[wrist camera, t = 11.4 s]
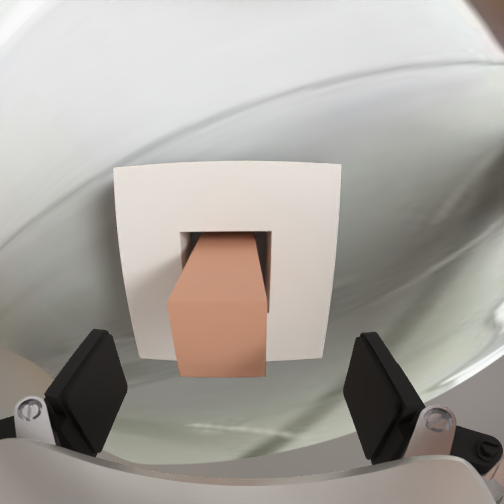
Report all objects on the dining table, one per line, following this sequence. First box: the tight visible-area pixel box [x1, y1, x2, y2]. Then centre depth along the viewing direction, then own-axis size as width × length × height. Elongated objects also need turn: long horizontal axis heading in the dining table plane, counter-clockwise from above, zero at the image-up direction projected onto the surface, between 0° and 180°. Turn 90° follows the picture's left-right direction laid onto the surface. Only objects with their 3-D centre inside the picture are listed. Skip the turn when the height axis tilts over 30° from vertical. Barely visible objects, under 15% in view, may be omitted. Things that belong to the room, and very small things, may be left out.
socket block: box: [113, 161, 341, 361], centre depth 22 cm, size 15×15×5 cm
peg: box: [167, 231, 267, 377], centre depth 17 cm, size 4×4×12 cm
